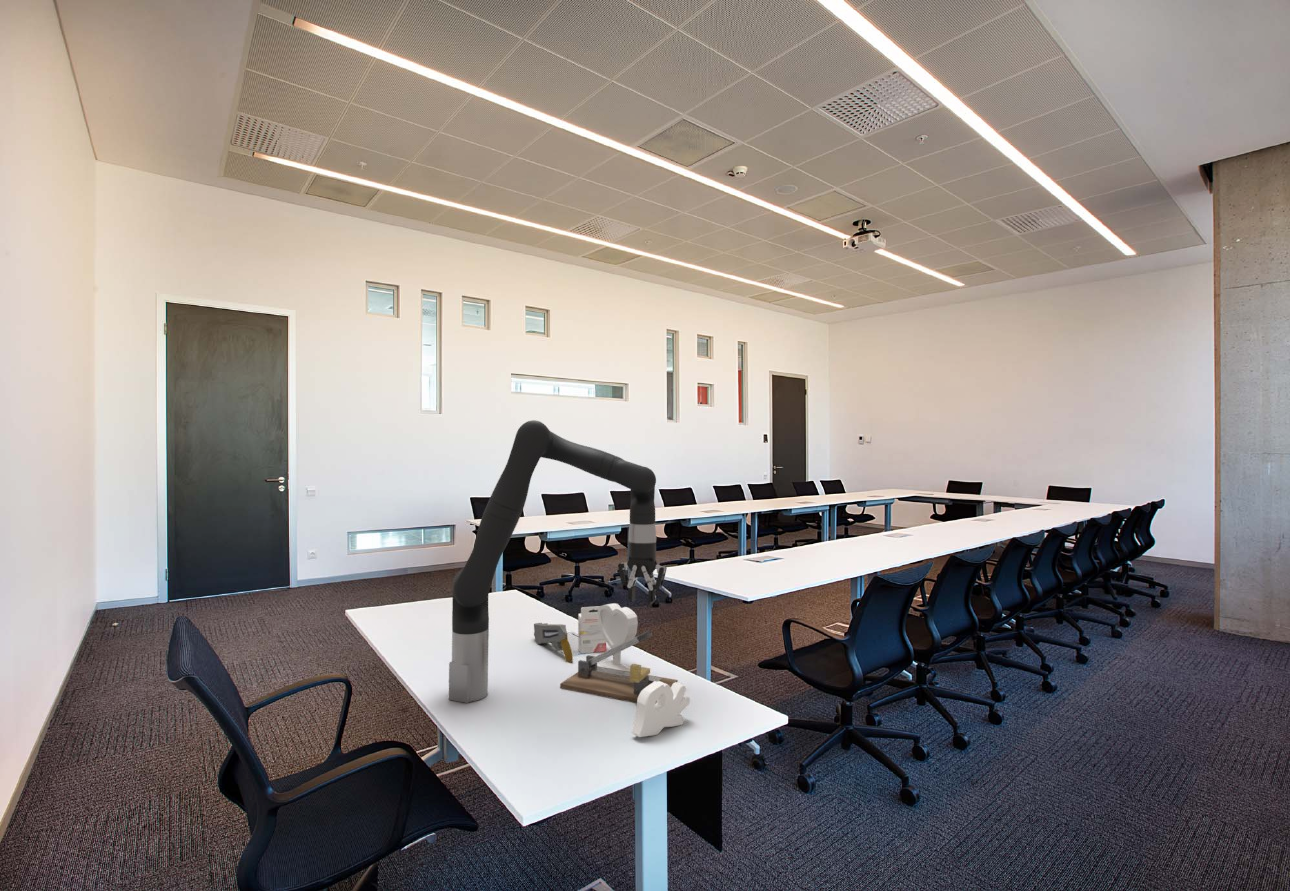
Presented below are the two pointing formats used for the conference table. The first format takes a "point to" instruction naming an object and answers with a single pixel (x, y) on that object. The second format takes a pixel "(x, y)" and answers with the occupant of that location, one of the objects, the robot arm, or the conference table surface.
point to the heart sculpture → (616, 630)
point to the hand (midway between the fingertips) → (641, 602)
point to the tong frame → (612, 675)
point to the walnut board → (606, 687)
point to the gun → (554, 637)
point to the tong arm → (620, 647)
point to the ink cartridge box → (590, 632)
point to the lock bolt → (638, 673)
